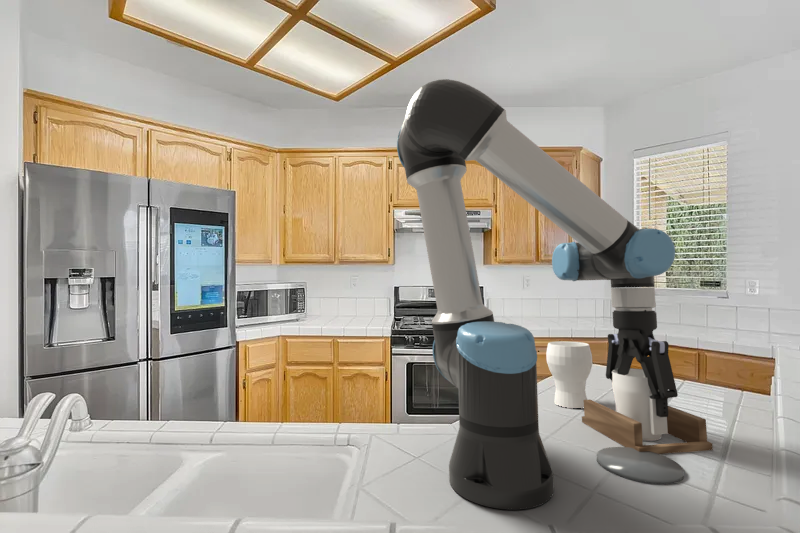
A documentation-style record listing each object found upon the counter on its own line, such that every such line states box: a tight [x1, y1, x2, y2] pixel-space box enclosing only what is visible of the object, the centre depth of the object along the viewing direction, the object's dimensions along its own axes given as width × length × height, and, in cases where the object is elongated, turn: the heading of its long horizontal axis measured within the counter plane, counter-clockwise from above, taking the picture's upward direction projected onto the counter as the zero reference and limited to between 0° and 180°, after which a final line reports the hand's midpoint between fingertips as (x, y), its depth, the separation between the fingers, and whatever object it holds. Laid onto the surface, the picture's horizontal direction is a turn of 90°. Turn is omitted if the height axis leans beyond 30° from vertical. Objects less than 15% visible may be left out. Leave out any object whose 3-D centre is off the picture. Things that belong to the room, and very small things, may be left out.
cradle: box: [581, 399, 714, 455], centre depth 75 cm, size 14×17×5 cm
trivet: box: [596, 446, 685, 485], centre depth 62 cm, size 12×12×1 cm
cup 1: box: [545, 340, 593, 409], centre depth 96 cm, size 11×11×15 cm
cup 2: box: [611, 367, 662, 442], centre depth 75 cm, size 9×9×12 cm
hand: (640, 424), depth 75 cm, fingers closed on cup 2, 9 cm apart
